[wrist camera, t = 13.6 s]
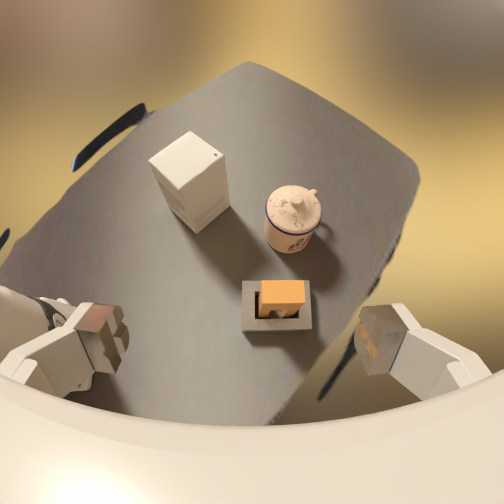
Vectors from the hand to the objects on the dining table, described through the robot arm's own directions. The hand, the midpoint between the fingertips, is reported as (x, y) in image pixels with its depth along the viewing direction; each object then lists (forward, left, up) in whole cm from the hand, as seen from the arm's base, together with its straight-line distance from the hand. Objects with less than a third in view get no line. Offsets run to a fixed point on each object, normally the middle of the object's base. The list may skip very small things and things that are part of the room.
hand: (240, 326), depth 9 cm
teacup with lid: (+18, +16, -38) cm, 45 cm away
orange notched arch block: (+8, +4, -37) cm, 38 cm away
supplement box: (+4, +28, -38) cm, 47 cm away
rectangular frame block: (+8, +4, -37) cm, 38 cm away
